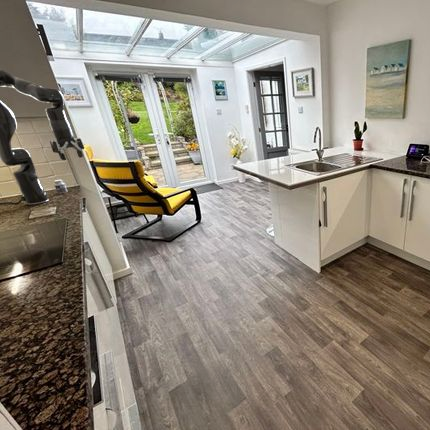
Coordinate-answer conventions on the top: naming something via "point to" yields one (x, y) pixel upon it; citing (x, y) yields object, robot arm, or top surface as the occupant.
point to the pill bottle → (60, 187)
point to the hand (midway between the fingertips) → (72, 158)
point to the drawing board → (42, 213)
